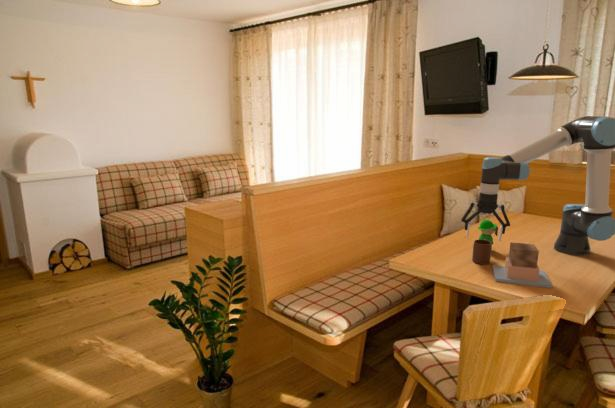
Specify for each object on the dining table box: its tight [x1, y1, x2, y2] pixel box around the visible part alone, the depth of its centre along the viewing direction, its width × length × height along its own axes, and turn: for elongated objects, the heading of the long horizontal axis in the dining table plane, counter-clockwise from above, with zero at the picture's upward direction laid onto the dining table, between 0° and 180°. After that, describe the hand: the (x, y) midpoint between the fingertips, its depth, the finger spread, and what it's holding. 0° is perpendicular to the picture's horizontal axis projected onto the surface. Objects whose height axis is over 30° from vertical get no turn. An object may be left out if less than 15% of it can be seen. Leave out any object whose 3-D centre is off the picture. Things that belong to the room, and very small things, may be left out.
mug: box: [471, 239, 493, 265], centre depth 194 cm, size 12×8×9 cm, turn 146°
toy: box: [477, 219, 499, 245], centre depth 208 cm, size 9×9×15 cm
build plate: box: [492, 256, 553, 289], centre depth 175 cm, size 20×16×6 cm
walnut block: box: [508, 242, 540, 268], centre depth 174 cm, size 9×9×7 cm
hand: (483, 238), depth 193 cm, fingers open, 13 cm apart
